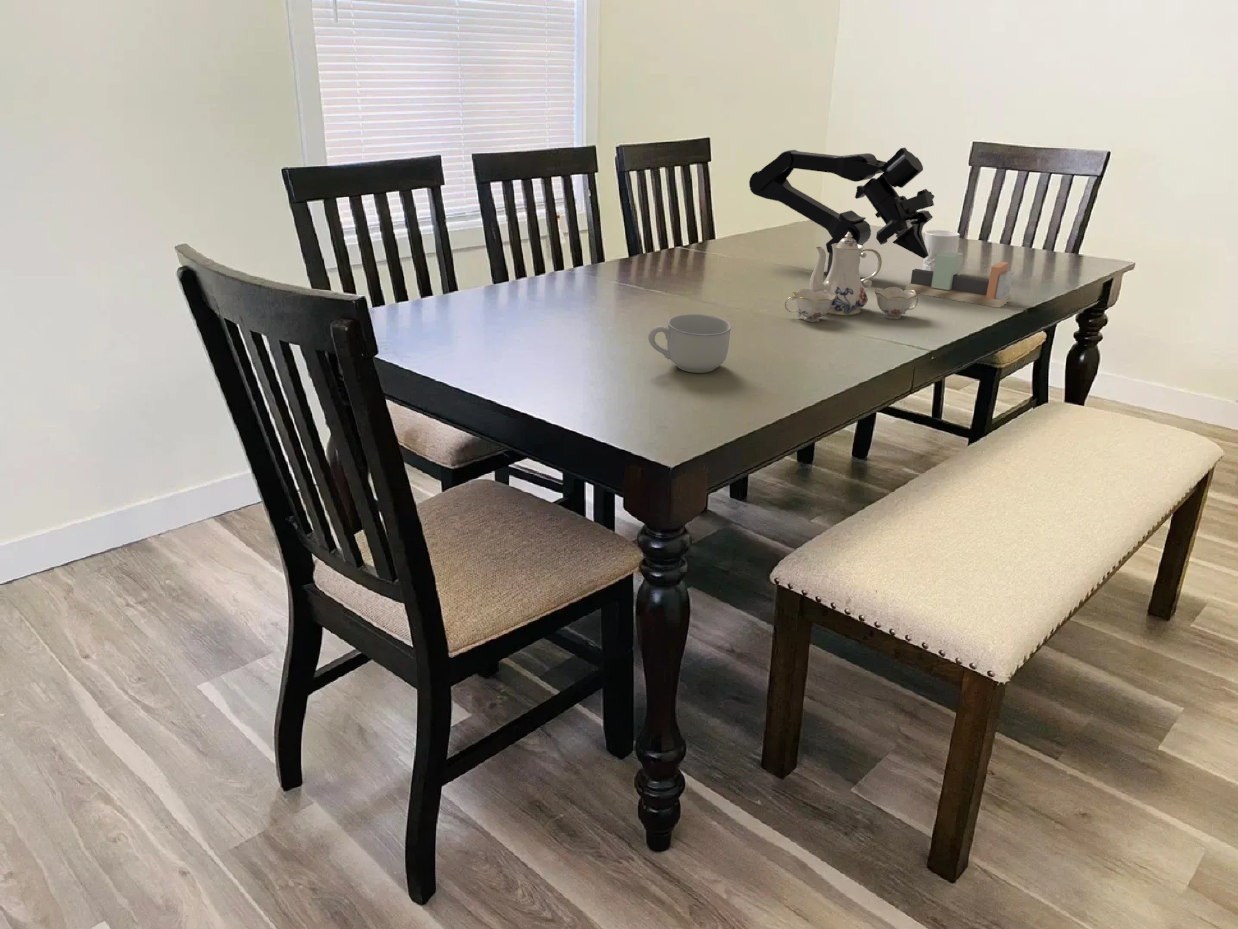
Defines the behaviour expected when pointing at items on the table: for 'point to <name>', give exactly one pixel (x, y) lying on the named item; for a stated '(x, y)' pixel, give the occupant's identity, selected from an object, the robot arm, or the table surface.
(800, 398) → the table surface
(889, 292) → the chinaware
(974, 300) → the track board
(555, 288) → the table surface
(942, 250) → the white cup
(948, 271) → the sleeve
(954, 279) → the rail
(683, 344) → the teacup
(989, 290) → the band
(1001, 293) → the connector
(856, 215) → the robot arm
